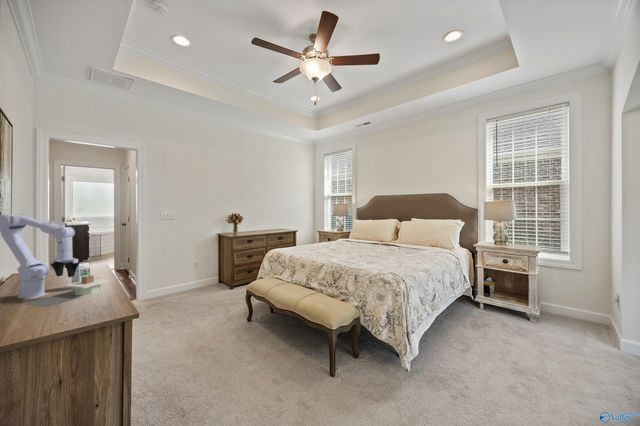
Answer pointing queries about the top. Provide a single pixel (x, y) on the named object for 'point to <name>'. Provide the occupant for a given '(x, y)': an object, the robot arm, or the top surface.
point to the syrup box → (81, 272)
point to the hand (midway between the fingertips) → (65, 276)
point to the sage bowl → (88, 290)
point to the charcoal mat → (51, 300)
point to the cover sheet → (78, 284)
